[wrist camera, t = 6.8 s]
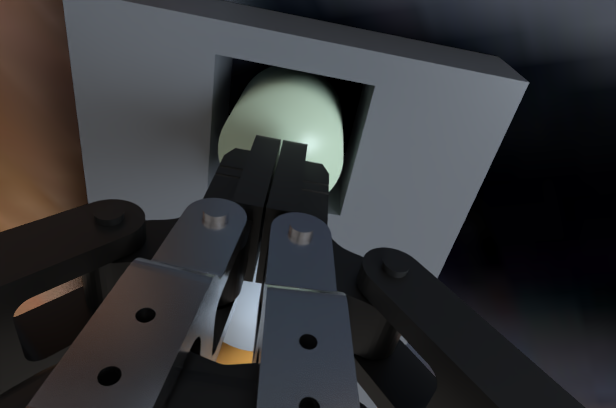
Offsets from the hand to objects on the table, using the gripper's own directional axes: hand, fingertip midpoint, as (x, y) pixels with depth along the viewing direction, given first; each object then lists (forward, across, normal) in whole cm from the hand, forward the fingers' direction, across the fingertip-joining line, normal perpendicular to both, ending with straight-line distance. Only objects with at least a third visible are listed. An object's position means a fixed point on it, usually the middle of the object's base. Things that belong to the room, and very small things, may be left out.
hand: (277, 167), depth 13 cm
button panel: (+5, 0, +7) cm, 8 cm away
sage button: (+5, 0, 0) cm, 5 cm away
